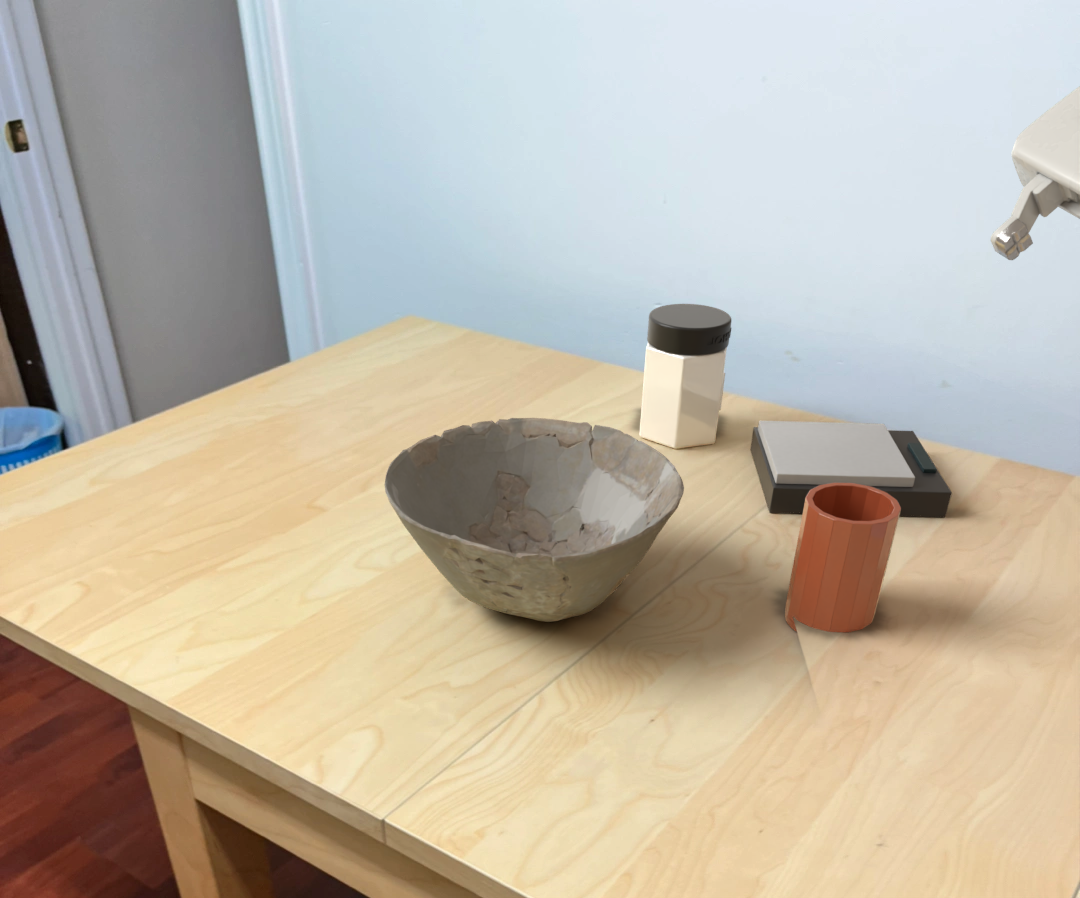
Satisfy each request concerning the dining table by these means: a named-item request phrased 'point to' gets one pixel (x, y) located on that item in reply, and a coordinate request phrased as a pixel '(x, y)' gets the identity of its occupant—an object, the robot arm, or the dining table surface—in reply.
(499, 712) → the dining table surface
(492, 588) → the ceramic bowl
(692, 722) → the dining table surface
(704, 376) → the jar
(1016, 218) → the robot arm
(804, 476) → the kitchen scale
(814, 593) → the cup
